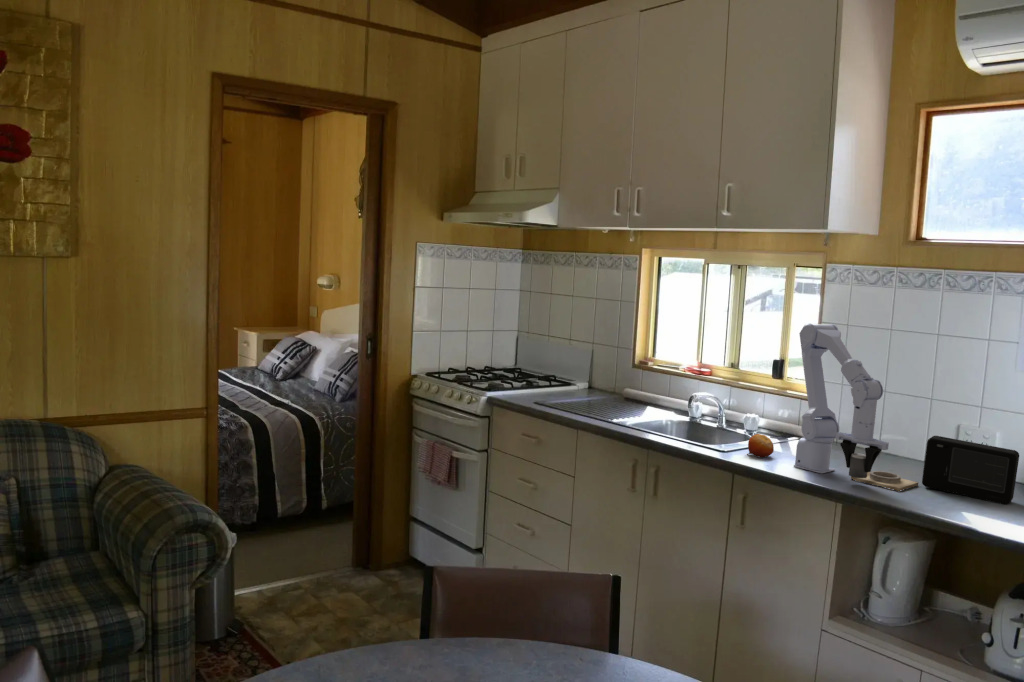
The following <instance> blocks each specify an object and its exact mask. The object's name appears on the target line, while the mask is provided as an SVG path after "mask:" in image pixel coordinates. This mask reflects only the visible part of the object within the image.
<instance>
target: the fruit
mask: <svg viewBox="0 0 1024 682" xmlns="http://www.w3.org/2000/svg"><path fill="white" fill-rule="evenodd" d="M747 446H748V453H747V454H746V455H747V456H748V455H752V456H754V457H756V458H760V459H764V458H766V457H770V456H772V454H773V453H774V443H773V441H772V440H771V438H769V436H768V437H767V435H765V434H761V433H756V434H754V435H751V437H750V438H749V439H748V442H747Z"/></svg>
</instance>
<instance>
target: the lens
mask: <svg viewBox="0 0 1024 682" xmlns="http://www.w3.org/2000/svg"><path fill="white" fill-rule="evenodd" d="M865 463H866V453H865V454H863V453H858V452H857V453H856V452H854V453H852V454H851V457H850V467H849V468H848V476H849V477H851V476H852V477H856V478H867V472H865Z"/></svg>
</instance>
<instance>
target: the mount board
mask: <svg viewBox="0 0 1024 682" xmlns="http://www.w3.org/2000/svg"><path fill="white" fill-rule="evenodd" d="M851 479H853V480H852V481H854V480H856V481H855V482H858V481H860V482H859V483H862V482H865V483H864V484H866V483H869V484H868V485H870V484H873V485H872V486H874V485H877V486H876V487H878V486H882V487H886V488H890V489H894V490H897V491H896V492H898V491H900V490H903V489H906V490H908V489H907V488H910V489H912V488H911V487H913V488H915V487H914V486H916V487H919V482H917V481H914V480H909V479H905V478H902V477H901V475H899V474H897V473H893V472H889V471H882V470H871V472H867V478H856V477H852V476H850V480H851ZM882 487H881V488H882ZM886 488H885V489H886ZM890 489H889V490H890ZM894 490H893V491H894ZM903 491H904V490H903ZM900 492H901V491H900Z"/></svg>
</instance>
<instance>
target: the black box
mask: <svg viewBox="0 0 1024 682" xmlns="http://www.w3.org/2000/svg"><path fill="white" fill-rule="evenodd" d="M1019 461H1020V453H1019V452H1018V451H1017V450H1015V449H1009V448H1004V447H998V446H993V445H989V444H983V443H977V442H972V441H966V440H962V439H956V438H950V437H945V436H941V435H940V436H939V435H932V436H931V437H930V438H929V439H927V441H926V448H925V456H924V464H923V471H922V477H921V478H922V479H921V483H922V485H923V486H924V487H925V488H930V489H933V490H938V491H943V492H947V493H952V494H955V495H961V496H965V497H969V498H974V499H979V500H983V501H988V502H991V503H997V504H1000V503H1001V505H1009V504H1010V503H1011V502H1012V500H1013V499H1014V497H1015V496H1014V494H1015V490H1016V489H1015V488H1016V487H1015V486H1016V480H1017V474H1018V468H1019Z"/></svg>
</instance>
